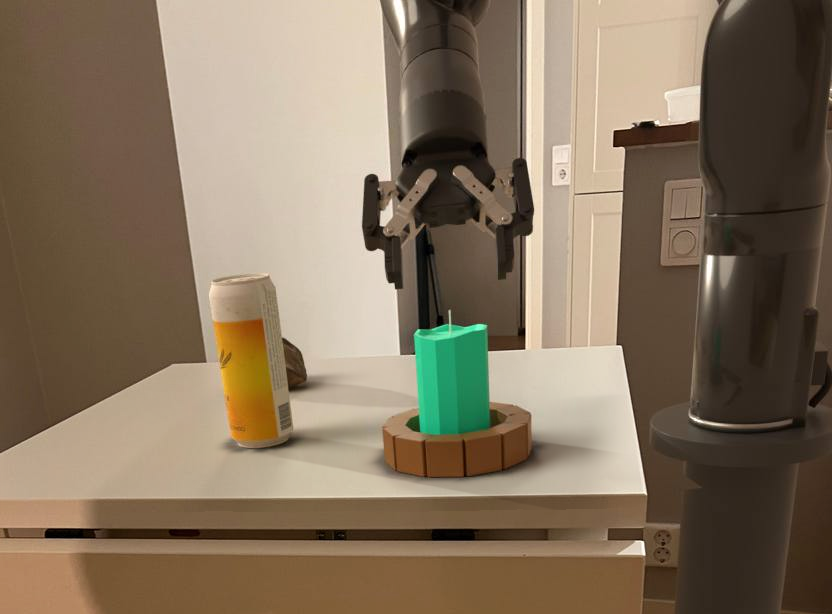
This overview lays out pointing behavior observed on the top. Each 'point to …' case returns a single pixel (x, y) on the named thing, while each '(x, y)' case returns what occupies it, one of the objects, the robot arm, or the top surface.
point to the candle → (453, 379)
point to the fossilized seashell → (293, 364)
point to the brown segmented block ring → (458, 444)
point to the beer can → (251, 359)
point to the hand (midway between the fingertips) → (450, 278)
